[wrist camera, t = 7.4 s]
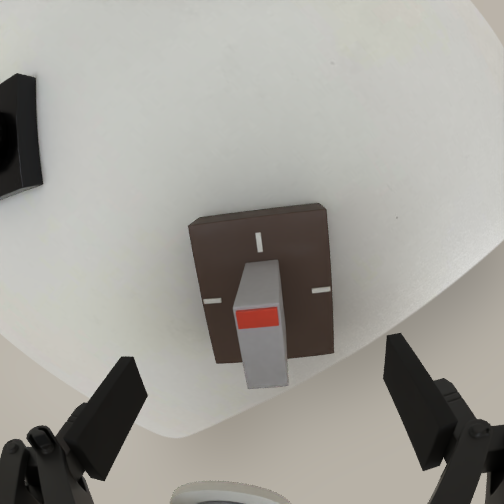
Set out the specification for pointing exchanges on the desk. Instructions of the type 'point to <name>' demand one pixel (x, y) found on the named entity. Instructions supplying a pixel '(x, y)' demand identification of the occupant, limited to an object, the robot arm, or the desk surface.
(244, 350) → the dial
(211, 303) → the dial panel
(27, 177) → the button block
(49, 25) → the desk surface
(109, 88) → the desk surface
